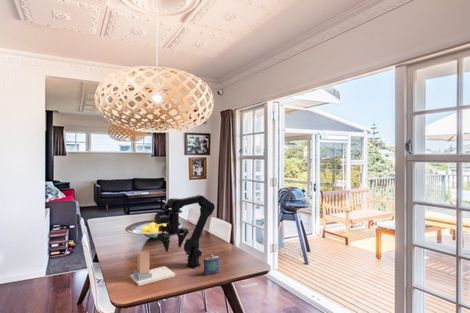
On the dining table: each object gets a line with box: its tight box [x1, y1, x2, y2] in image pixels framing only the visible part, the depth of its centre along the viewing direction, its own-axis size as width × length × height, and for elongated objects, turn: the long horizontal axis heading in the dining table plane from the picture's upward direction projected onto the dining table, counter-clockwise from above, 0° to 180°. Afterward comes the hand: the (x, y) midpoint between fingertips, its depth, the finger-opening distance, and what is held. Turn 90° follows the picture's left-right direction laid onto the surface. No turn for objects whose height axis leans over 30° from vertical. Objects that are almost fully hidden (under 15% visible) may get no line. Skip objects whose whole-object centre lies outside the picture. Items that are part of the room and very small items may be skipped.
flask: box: [203, 254, 220, 277], centre depth 162 cm, size 9×3×11 cm, turn 122°
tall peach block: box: [136, 249, 151, 276], centre depth 155 cm, size 5×4×13 cm
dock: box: [129, 265, 176, 286], centre depth 158 cm, size 20×13×4 cm, turn 128°
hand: (173, 249), depth 163 cm, fingers open, 9 cm apart
